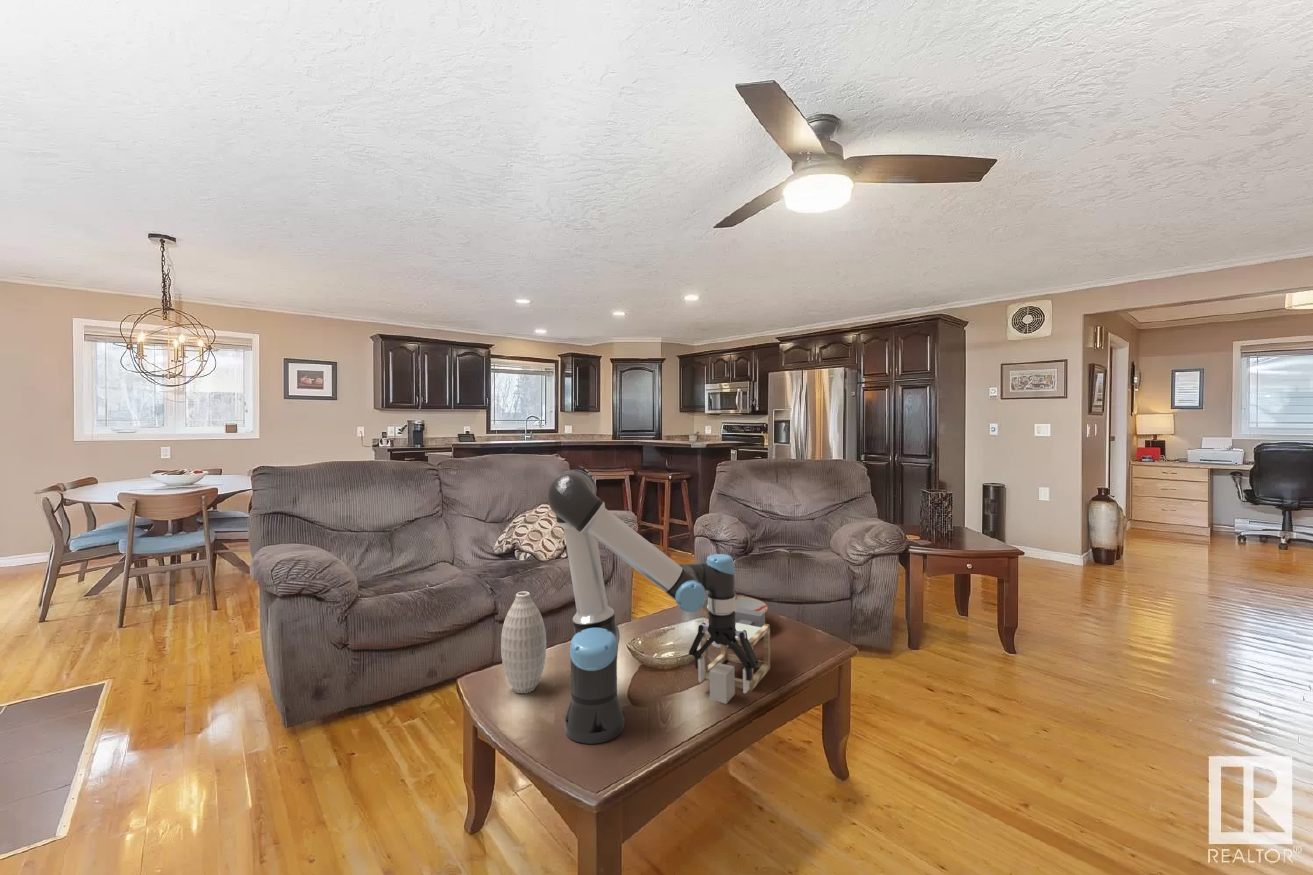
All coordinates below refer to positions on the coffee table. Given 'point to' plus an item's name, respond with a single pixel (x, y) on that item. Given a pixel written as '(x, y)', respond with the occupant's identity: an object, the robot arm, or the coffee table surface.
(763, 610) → the bowl
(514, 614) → the vase
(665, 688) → the coffee table surface
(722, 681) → the light gray block
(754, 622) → the trapdoor
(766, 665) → the maple stand
